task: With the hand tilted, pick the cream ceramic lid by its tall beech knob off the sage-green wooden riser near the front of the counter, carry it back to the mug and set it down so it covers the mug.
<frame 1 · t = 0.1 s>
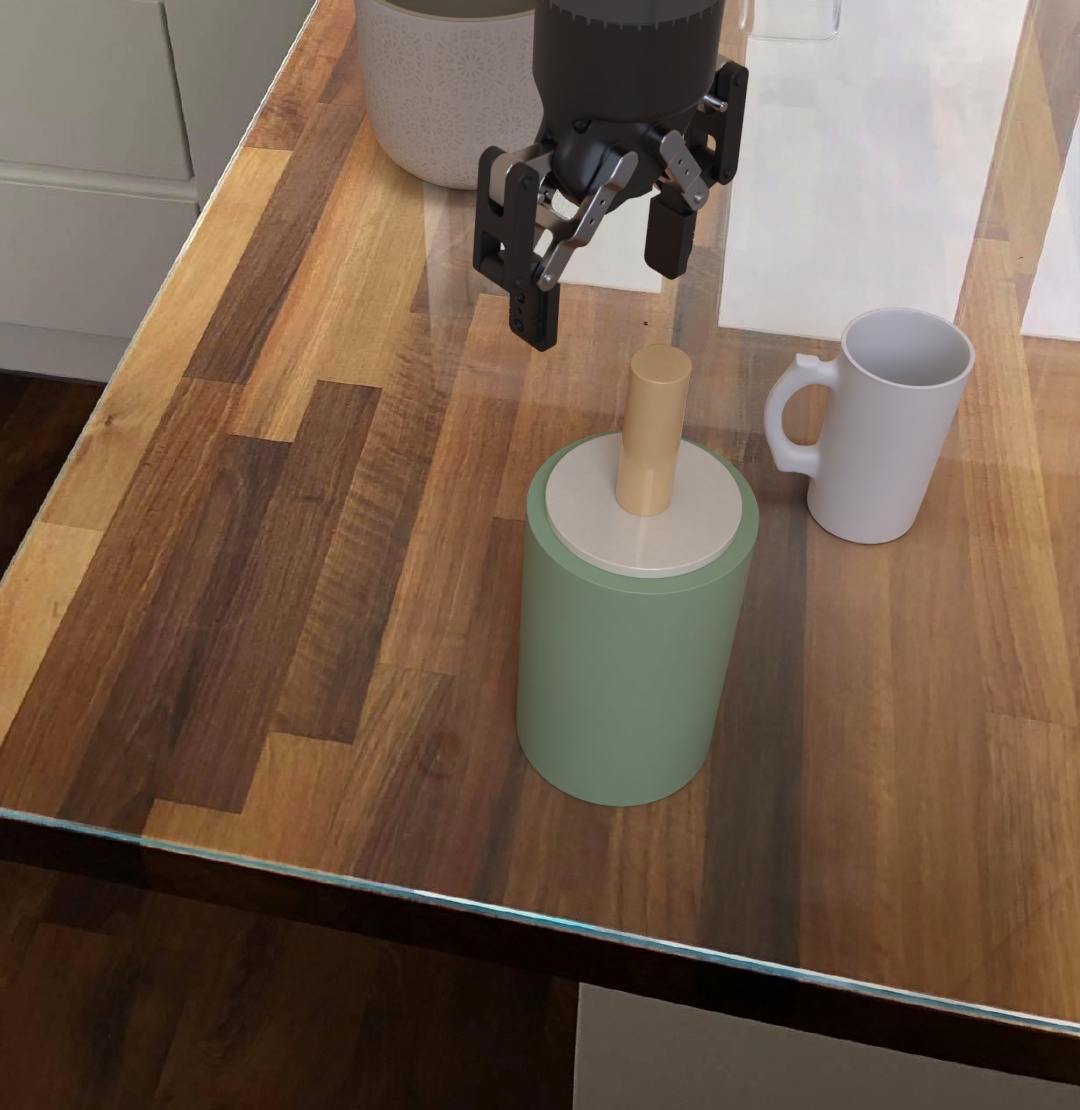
hand: (601, 304, 67), 18 cm above the counter, tool pointing down, fingers open, 8 cm apart
lid: (641, 506, 60), point 16 cm above the counter, touching riser
planter: (471, 157, 110), on the counter
riser: (612, 724, 72), on the counter
mug: (831, 507, 83), on the counter
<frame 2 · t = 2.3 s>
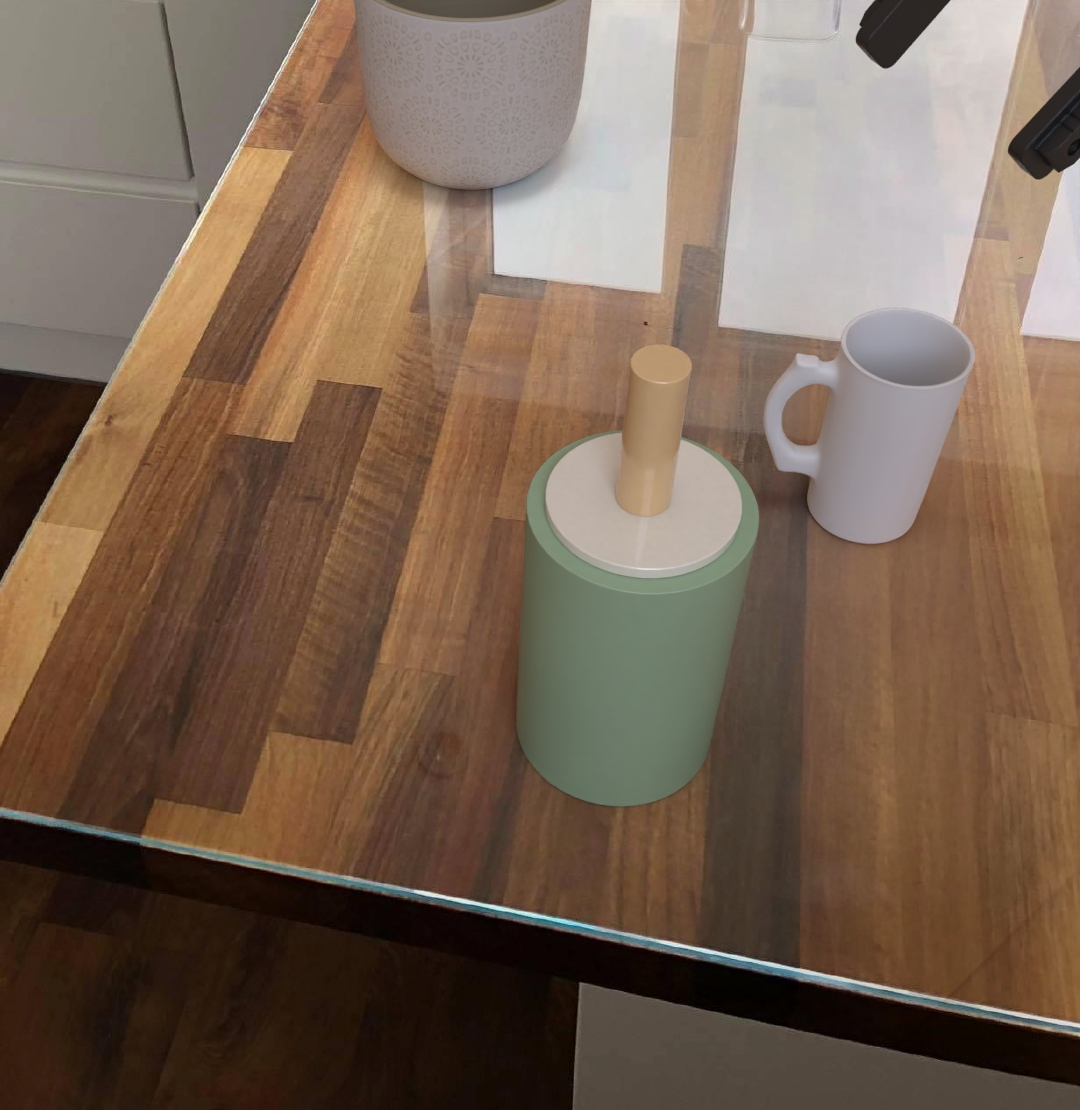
hand: (942, 108, 52), 32 cm above the counter, tool tilted 45°, fingers open, 8 cm apart
nothing on the counter moved.
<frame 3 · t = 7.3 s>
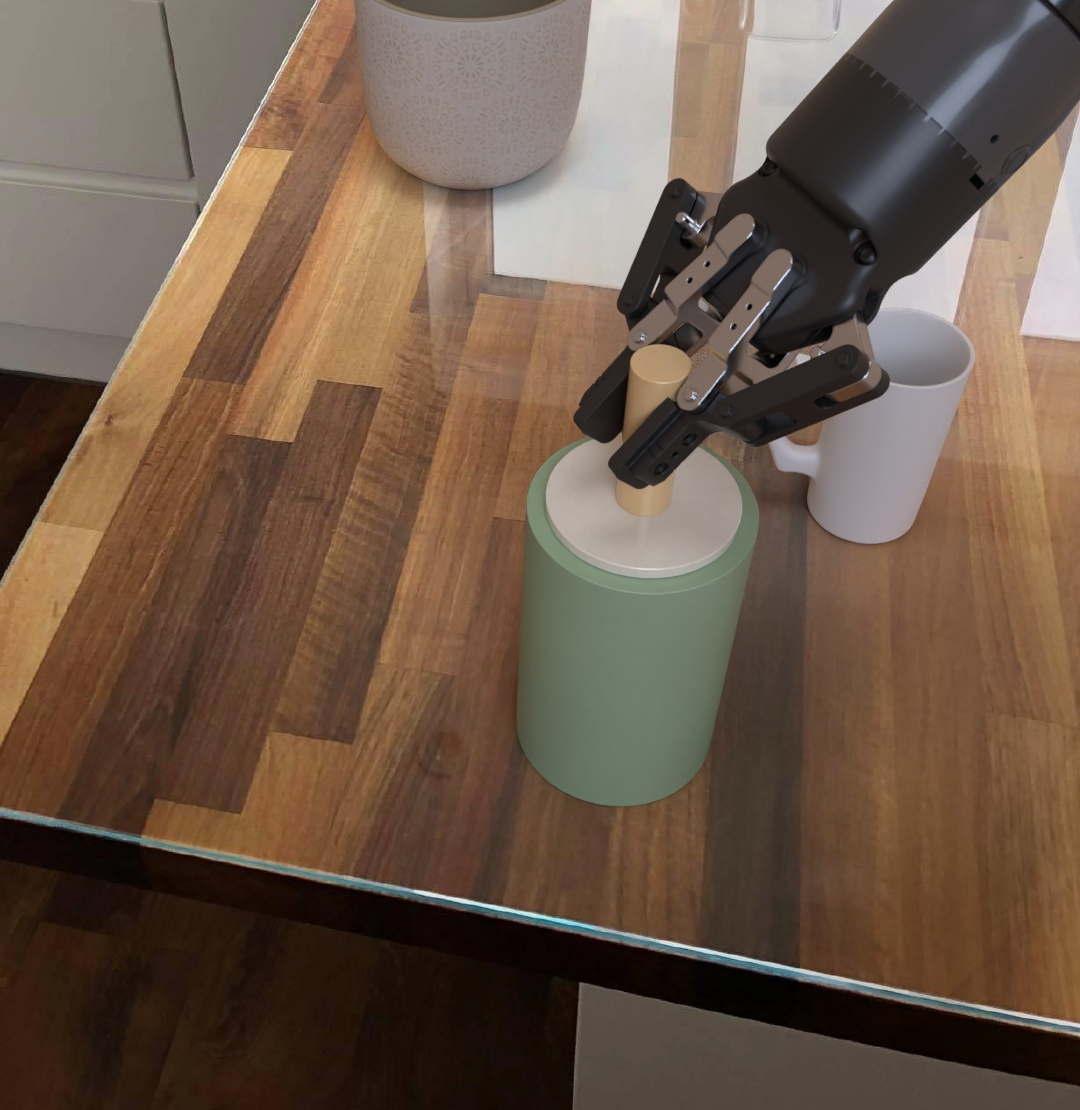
hand: (607, 454, 57), 20 cm above the counter, tool tilted 45°, fingers closed on lid, 2 cm apart
lid: (642, 506, 60), point 16 cm above the counter, touching gripper, riser
everything else where it was.
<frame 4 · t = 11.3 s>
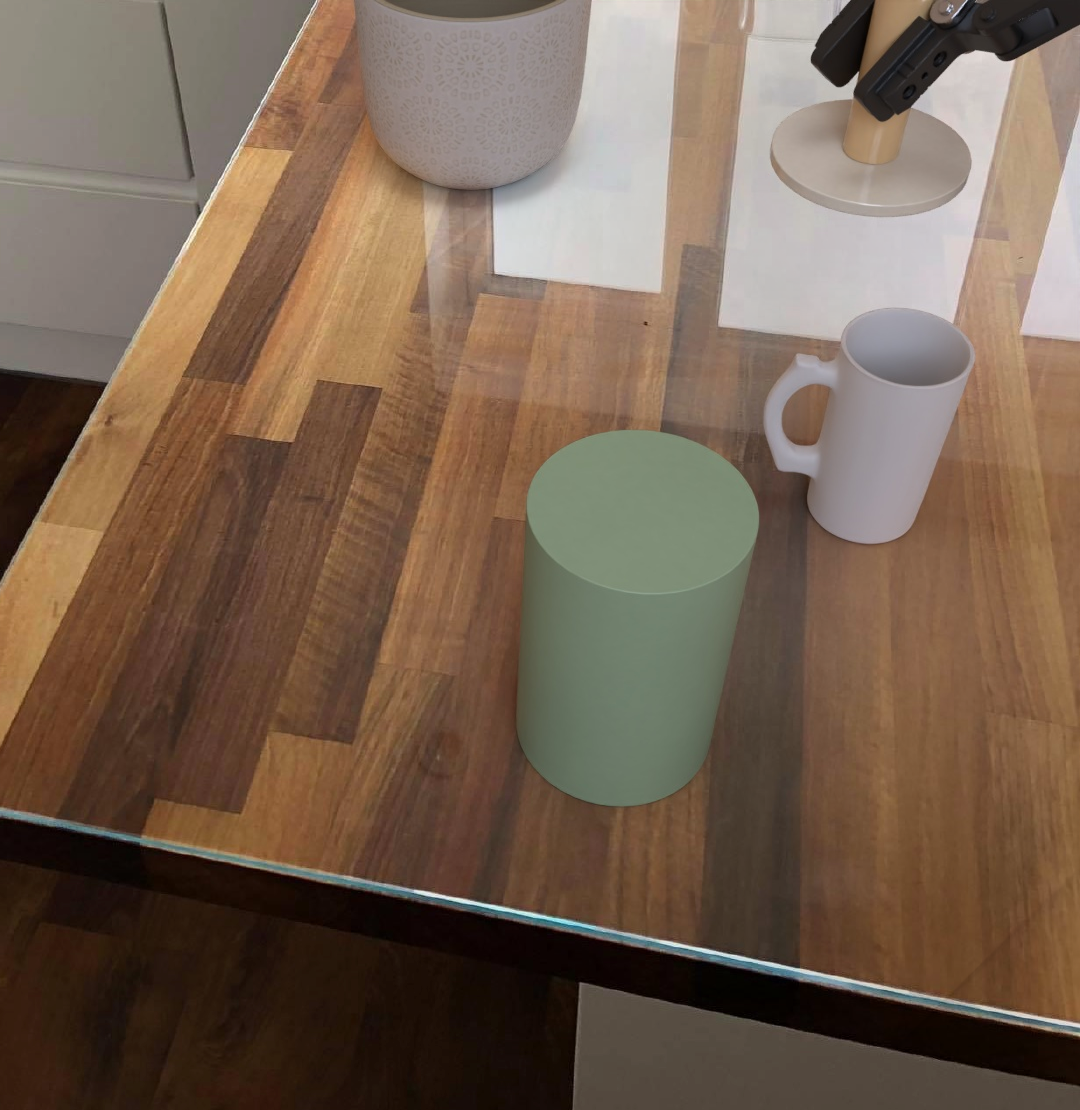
hand: (846, 90, 57), 30 cm above the counter, tool tilted 45°, fingers closed on lid, 2 cm apart
lid: (867, 161, 61), point 26 cm above the counter, touching gripper
everything else where it was.
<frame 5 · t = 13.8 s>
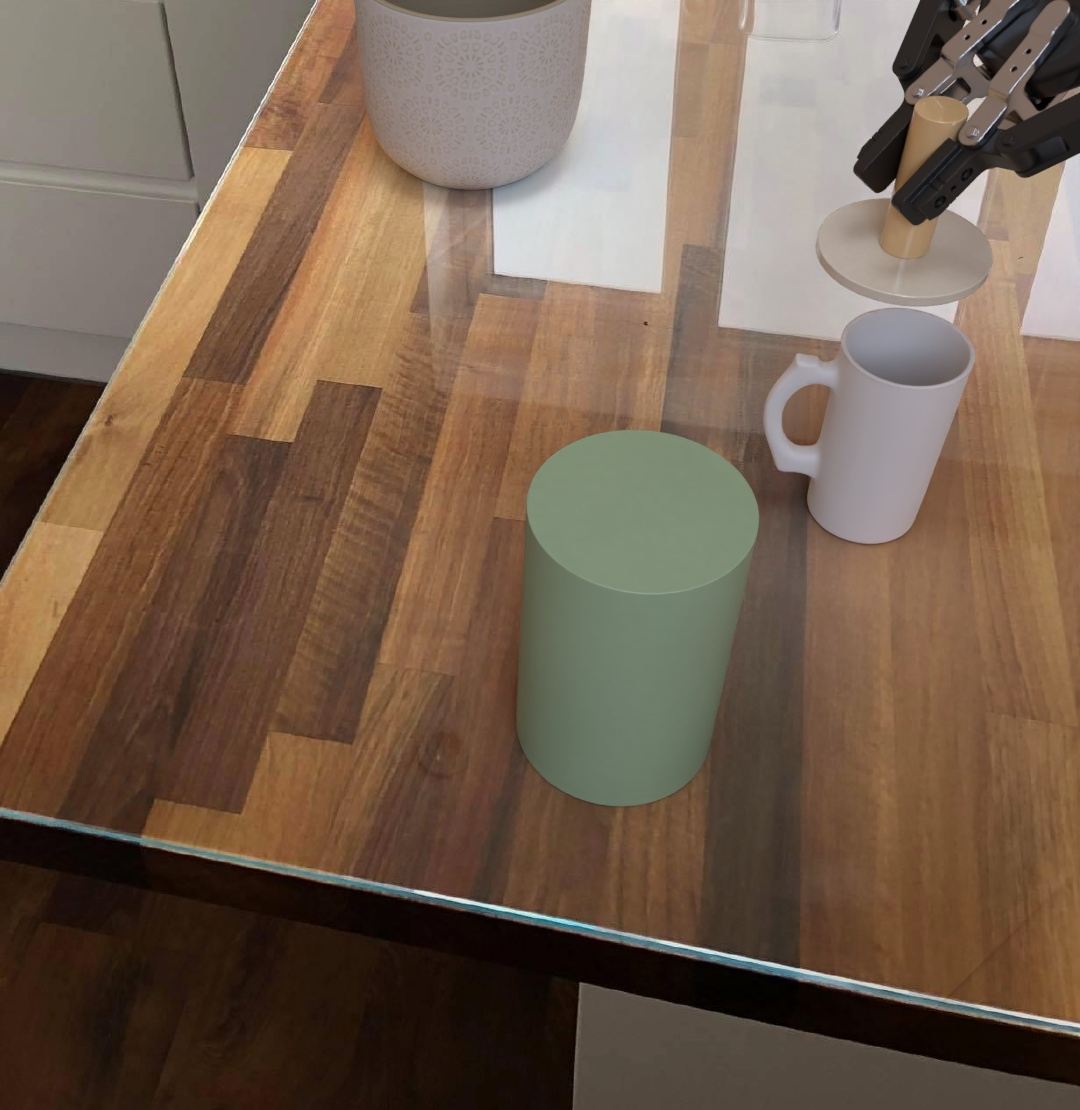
hand: (884, 197, 66), 22 cm above the counter, tool tilted 45°, fingers closed on lid, 2 cm apart
lid: (901, 255, 69), point 18 cm above the counter, touching gripper
everything else where it was.
when the fingers open (16 cm above the counter, at t = 15.6 s): lid stays where it is, resting on mug.
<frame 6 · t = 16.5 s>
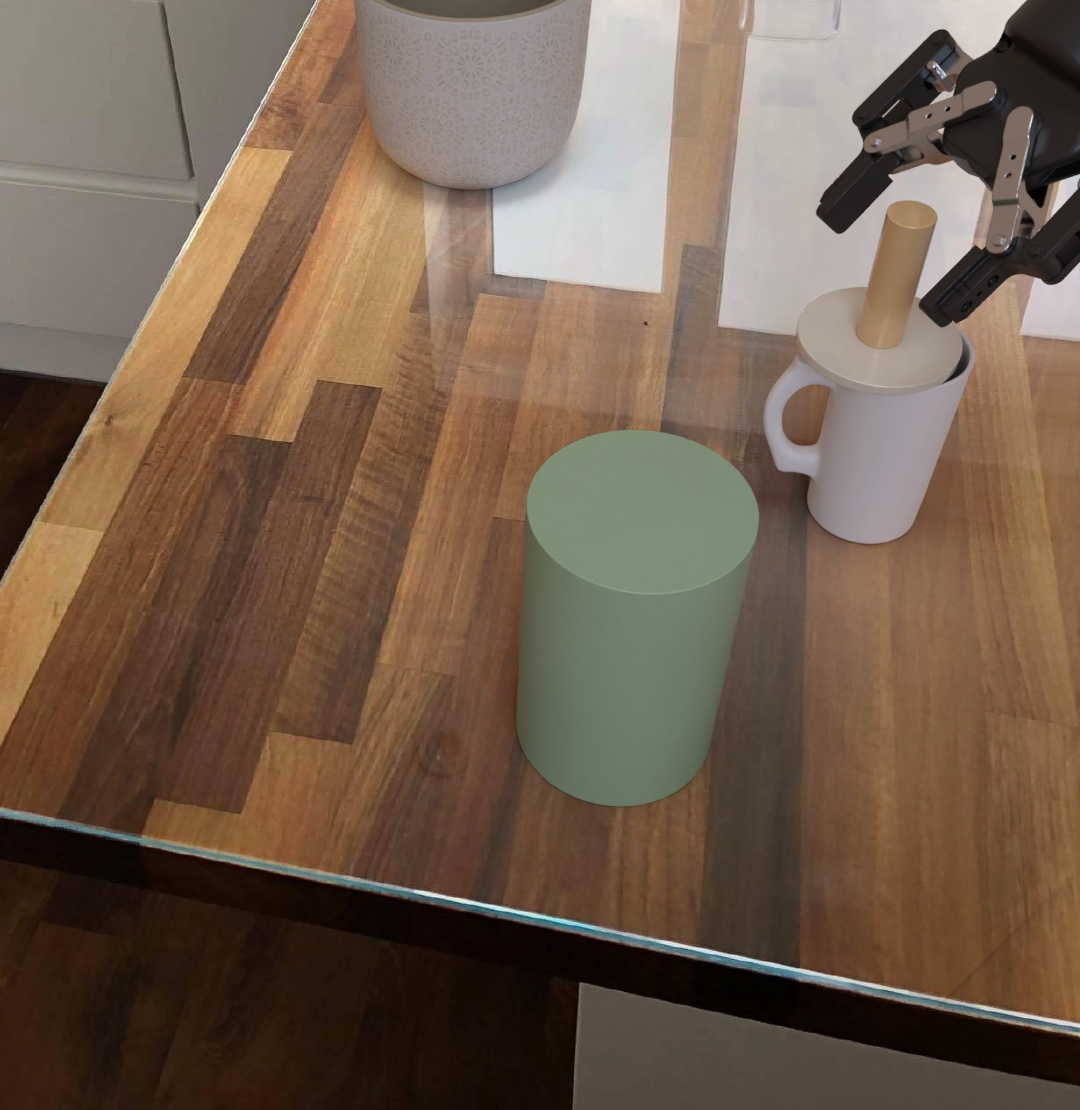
hand: (876, 269, 69), 17 cm above the counter, tool tilted 45°, fingers open, 8 cm apart
lid: (876, 343, 74), point 12 cm above the counter, touching mug
mug: (831, 507, 83), on the counter, touching lid
everything else where it was.
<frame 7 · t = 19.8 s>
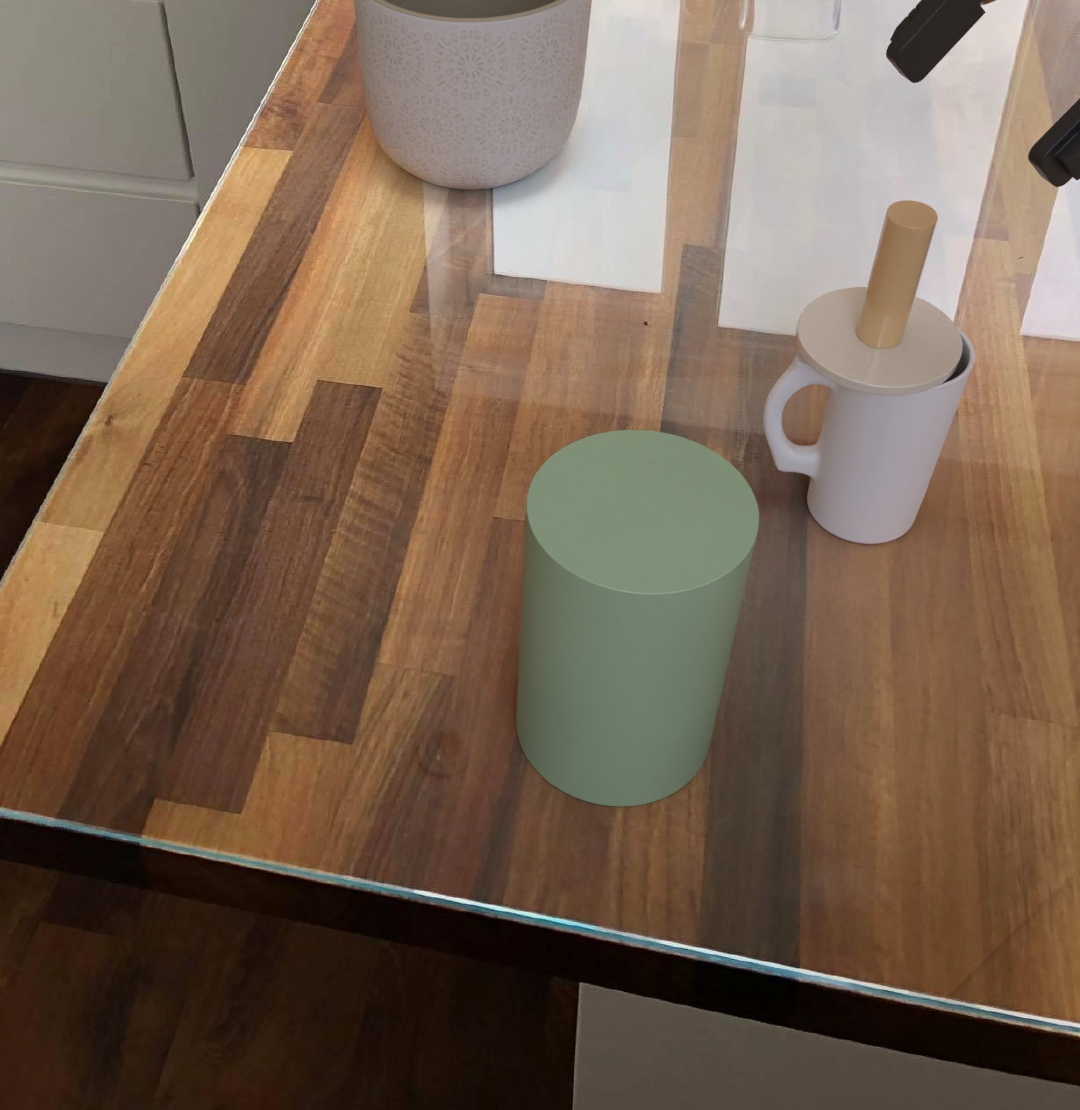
hand: (966, 119, 54), 31 cm above the counter, tool tilted 45°, fingers open, 8 cm apart
nothing on the counter moved.
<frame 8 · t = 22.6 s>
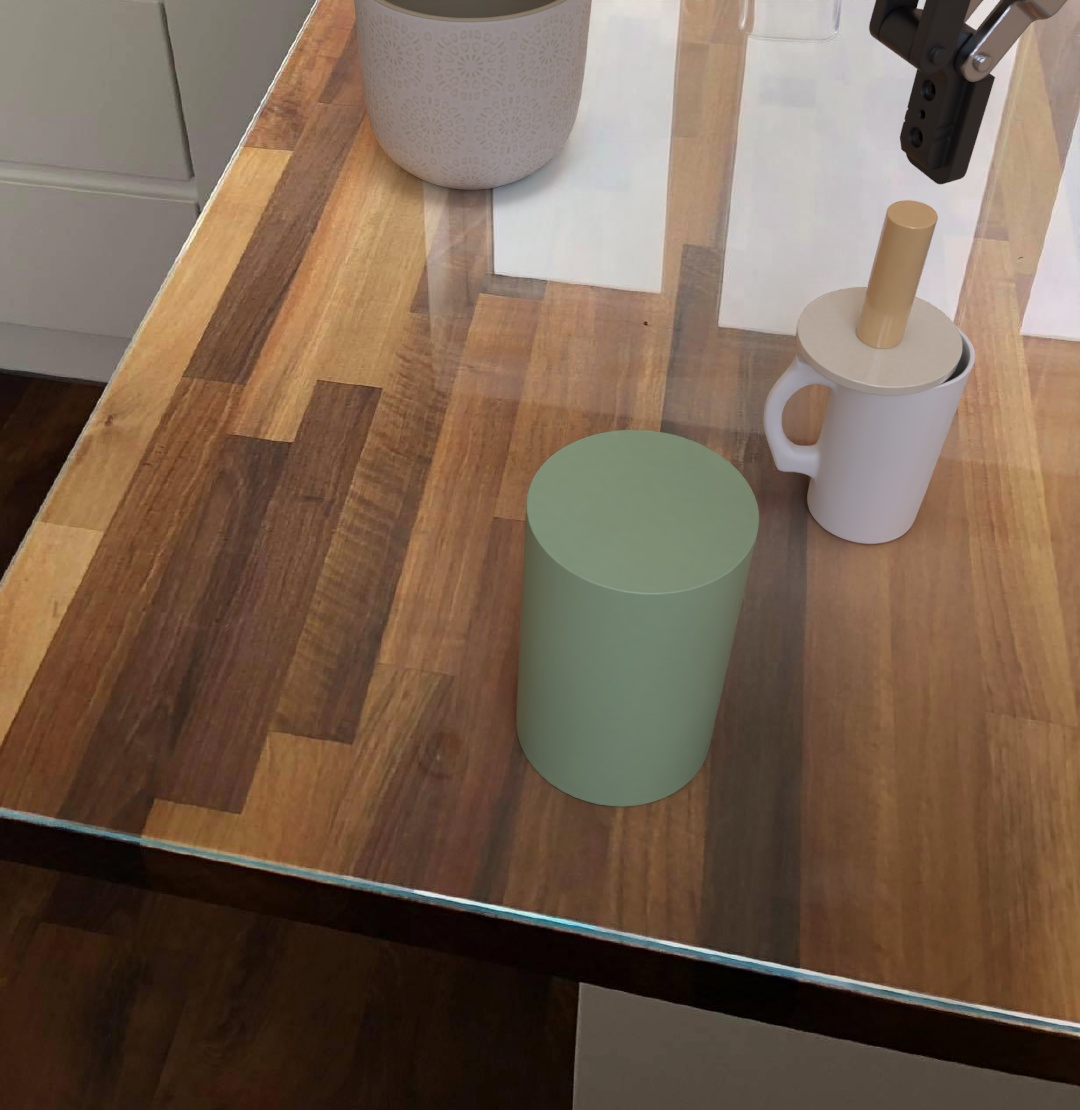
hand: (1039, 140, 46), 34 cm above the counter, tool pointing down, fingers open, 8 cm apart
nothing on the counter moved.
at the end: lid 0.1 cm off-centre on the mug, point 12.2 cm above the mug's base; lid tilted 0°; the gripper is holding nothing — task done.
